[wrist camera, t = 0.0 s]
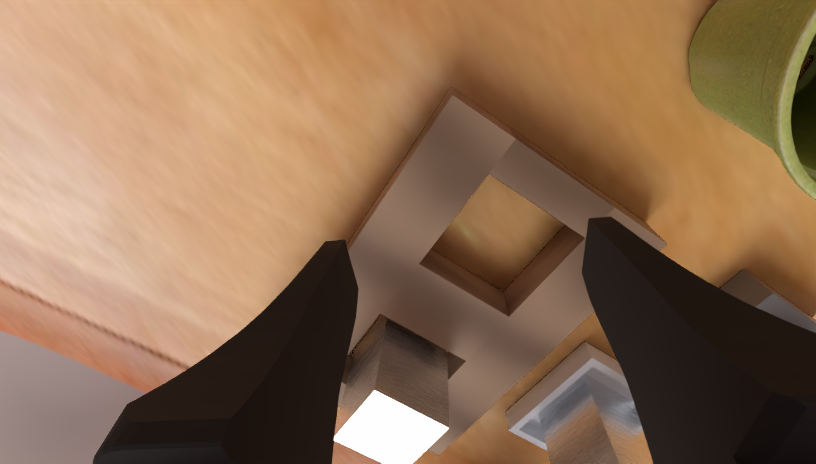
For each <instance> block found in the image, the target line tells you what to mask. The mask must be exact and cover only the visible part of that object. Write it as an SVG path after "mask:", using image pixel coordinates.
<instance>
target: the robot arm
mask: <svg viewBox="0 0 816 464" xmlns="http://www.w3.org/2000/svg"><path fill="white" fill-rule="evenodd" d="M582 275H583V279H584V282H585V286H586V289H587V292H588V295H589V298H590V302H591V304H592V306H593V308H594V311H595V313H596V315H597V317H598V319H599V322H600V324H601V326H602V328H603V330H604V332H605V334H606V337H607V339H608V341H609V343H610V345H611V347H612V349H613V352H614V354H615V356H616V358H617V360H618V362H619V364H620V367H621V369H622V371H623V374H624V376H625V379H626V381H627V384H628V387H629V390H630V393H631V395H632V398H633V401H634V404H635V407H636V410H637V413H638V416H639V419H640V422H641V426H642V429H643V432H644V435H645V438H646V441H647V445H648V448H649V451H650V454H651V458H652V461H653V464H816V333H815V332H812V331H810V330H807V329H805V328H802V327H800V326H797V325H795V324H792V323H790V322H788V321H785V320H783V319H781V318H779V317H776V316H774V315H772V314H770V313H767V312H765V311H763V310H761V309H758V308H756V307H754V306H752V305H750V304H748V303H746V302H744V301H742V300H740V299H738V298H736V297H734V296H732V295H730V294H729V293H727V292H725V291H723V290H721V289H719V288H717V287H715V286H714V285H712V284H710V283H708V282H706V281H705V280H703V279H701V278H700V277H698V276H696V275H695V274H693V273H692V272H690V271H688V270H687V269H685V268H684V267H682V266H680V265H679V264H677V263H676V262H674V261H673V260H671V259H670V258H668V257H667V256H665V255H664V254H662V253H661V252H660V251H658V250H657V249H655V248H654V247H652V246H651V245H650V244H648V243H647V242H645V241H644V240H643V239H641V238H640V237H639V236H637V235H636V234H635V233H633V232H632V231H630V230H629V229H628V228H626V227H625V226H624V225H622V224H621V223H620V222H618V221H617V220H615V219H614V218H612V217H611V216H610V217H599V218H589V219H588V227H587V234H586V242H585V250H584V257H583V265H582ZM358 290H359V288H358V285H357V281H356V278H355V274H354V270H353V267H352V263H351V260H350V256H349V253H348V249H347V246H346V242H345V240H337V241H326V242H325V243H324V244H323V245H322V246H321V247H320V249H319V250H318V251H317V252H316V253H315V255H314V256H313V257H312V258H311V259H310V261H309V262H308V263H307V264H306V265H305V267H304V268H303V269H302V270H301V271H300V272H299V274H298V275H297V276H296V277H295V278H294V279H293V280H292V282H291V283H290V284H289V285H288V286H287V287H286V288H285V289H284V290H283V291H282V292H281V293H280V294H279V295H278V296H277V298H276V299H275V300H274V301H273V302H272V303H271V304H270V305H269V306H268V307H267V308H266V309H265V310H264V311H263V312H262V313H260V314H259V315H258V316H257V317H256V318H255V319H254V320H253V321H252V322H250V323H249V324H248V325H247V326H246V327H245V328H244V329H242V330H241V331H240V332H239V333H238V334H236V335H235V336H234V337H232V338H231V339H230V340H228V341H227V342H226V343H224V344H223V345H222V346H220V347H219V348H218V349H216V350H215V351H214V352H213V353H211V354H210V355H208V356H207V357H205V358H204V359H203V360H201V361H200V362H198V363H197V364H195V365H194V366H192V367H191V368H189V369H187V370H186V371H184V372H183V373H181V374H180V375H178V376H176V377H175V378H173V379H171V380H170V381H168V382H166V383H165V384H163V385H161V386H159V387H158V388H156V389H154V390H152V391H150V392H149V393H147V394H145V395H143V396H142V397H140V398H138V399H136V400H134V401H132V402H130V403H129V404H127V405H126V407H125V408H124V410H123V412H122V413H121V415H120V416H119V418H118V420H117V421H116V423H115V424H114V426H113V427H112V429H111V431H110V432H109V434H108V435H107V437H106V439H105V440H104V442H103V443H102V445H101V447H100V448H99V450H98V451H97V453H96V455H95V456H94V460H93V464H332V455H333V445H334V435H335V425H336V417H337V408H338V400H339V393H340V387H341V382H342V377H343V373H344V369H345V364H346V360H347V356H348V351H349V347H350V343H351V338H352V334H353V329H354V325H355V320H356V313H357V303H358Z"/></svg>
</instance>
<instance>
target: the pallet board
mask: <svg viewBox="0 0 816 464" xmlns="http://www.w3.org/2000/svg"><path fill="white" fill-rule="evenodd" d="M488 174H490V175H491V176H493V177H494V178H496V179H497V180H499V181H500V182H502V183H503V184H505V185H506V186H508V187H509V188H511V189H512V190H514V191H515V192H517V193H518V194H520V195H521V196H523V197H524V198H526V199H527V200H529V201H530V202H532V203H533V204H535V205H536V206H538V207H539V208H541V209H542V210H544V211H545V212H547V213H548V214H550V215H551V216H553V217H554V218H556V219H557V220H559V221H560V222H562V223H563V224H565V226H564V227H563V228H562V229H561V230H560V231H559V232H558V233H557V235H556V236H555V237H554V238H553V239H552V240H551V241H550V242H549V243H548V244H547V245H546V246H545V247H544V249H543V250H542V251H541V252H540V253H539V254H538V255H537V256H536V257H535V258H534V259H533V260H532V262H531V263H530V264H529V265H528V266H527V267H526V268H525V269H524V270H523V271H522V272H521V273H520V275H519V276H518V277H517V278H516V279H515V280H514V281H513V282H512V283H511V284H510V285H509V286H508V288H507V289H506V290H505V291H504V292H502V291H500V290H499V289H497V288H495V287H494V286H492V285H490V284H489V283H487V282H485V281H484V280H482V279H480V278H479V277H477V276H475V275H474V274H472V273H470V272H469V271H467V270H465V269H464V268H462V267H460V266H459V265H457V264H455V263H454V262H452V261H450V260H449V259H447V258H445V257H444V256H442V255H440V254H439V253H437V252H435V251H434V250H432V249H431V248H432V246H433V245H434V244H435V243H436V241H437V240H438V239H439V237H440V236H441V235H442V233H443V232H444V231H445V230H446V228H447V227H448V226H449V224H450V223H451V222H452V221H453V219H454V218H455V217H456V215H457V214H458V213H459V212H460V210H461V209H462V208H463V206H464V205H465V204H466V203H467V201H468V200H469V199H470V197H471V196H472V195H473V194H474V192H475V191H476V190H477V188H478V187H479V186H480V184H481V183H482V182H483V181H484V179H485V178H486V177H487V175H488ZM610 216H611V217H612V218H614V219H615V220H617V221H618V222H620V223H621V224H622V225H624V226H625V227H626V228H628V229H629V230H630V231H632V232H633V233H635V234H636V235H637V236H639V237H640V238H641V239H643V240H644V241H645V242H647V243H648V244H650V245H651V246H652V247H654V248H655V249H657V250H658V251H660V250H661V249H662V248H663V247H665V246H666V245H667V243H666V242H665V241H664V240H663V239H662V238H661V237H660V236H659V235H658V234H657V233H656V232H655V231H654V230H653V229H652V228H651V227H650V226H648V225H647V224H646V223H645V222H644V221H642V220H641V219H639V218H638V217H636V216H635V215H634V214H632V213H631V212H629V211H628V210H626V209H625V208H624V207H622V206H621V205H619V204H618V203H616V202H615V201H614V200H612V199H611V198H609V197H608V196H606V195H605V194H603V193H602V192H601V191H599V190H598V189H596V188H595V187H593V186H592V185H591V184H589V183H588V182H586V181H585V180H583V179H582V178H581V177H579V176H578V175H576V174H575V173H573V172H572V171H570V170H569V169H568V168H566V167H565V166H563V165H562V164H560V163H559V162H558V161H556V160H555V159H553V158H552V157H550V156H549V155H548V154H546V153H545V152H543V151H542V150H540V149H539V148H537V147H536V146H535V145H533V144H532V143H530V142H529V141H527V140H526V139H525V138H523V137H522V136H520V135H519V134H517V133H516V132H515V131H513V130H512V129H510V128H509V127H507V126H506V125H504V124H503V123H502V122H500V121H499V120H497V119H496V118H494V117H493V116H492V115H490V114H489V113H487V112H486V111H484V110H483V109H482V108H480V107H479V106H477V105H476V104H474V103H473V102H471V101H470V100H469V99H467V98H466V97H464V96H463V95H461V94H460V93H459V92H457V91H456V90H454V89H453V88H450V90H449V91H448V93H447V94H446V96H445V97H444V99H443V100H442V102H441V103H440V105H439V106H438V108H437V109H436V111H435V112H434V114H433V115H432V117H431V118H430V120H429V121H428V123H427V124H426V126H425V127H424V129H423V130H422V132H421V133H420V135H419V136H418V138H417V139H416V141H415V142H414V144H413V146H412V147H411V149H410V150H409V152H408V153H407V155H406V156H405V158H404V159H403V161H402V162H401V164H400V165H399V167H398V168H397V170H396V171H395V173H394V174H393V176H392V177H391V179H390V180H389V182H388V183H387V185H386V186H385V188H384V189H383V191H382V192H381V194H380V195H379V197H378V198H377V200H376V201H375V203H374V205H373V206H372V208H371V209H370V211H369V212H368V214H367V215H366V217H365V218H364V220H363V221H362V223H361V224H360V226H359V227H358V229H357V230H356V232H355V233H354V235H353V236H352V238H351V239H350V241H349V242H348V244H347V245H346V246H347V249H348V253H349V256H350V260H351V263H352V267H353V270H354V274H355V278H356V281H357V285H358V288H359V290H358V303H357V313H356V320H355V325H354V329H353V334H352V338H351V343H350V347H349V351H348V356H347V360H346V364H345V369H344V373H343V377H342V382H341V387H340V393H339V400H338V406H339V407H341V403H342V399H343V395H344V391H345V387H346V383H347V379H348V375H349V371H350V367H351V363H352V359H353V357H351V356H349V353H350V352H351V351H352V350H353V348H354V347H355V346H356V344H357V343H358V342H359V341H360V339H361V338H362V337H363V335H364V334H365V333H366V332H367V330H368V329H369V328H370V326H371V325H372V324H373V323H374V321H375V320H376V319H377V317H378V316H379V315H380V314H382V315H384V316H385V317H387V318H389V319H391V320H393V321H394V322H396V323H398V324H400V325H402V326H403V327H405V328H407V329H409V330H411V331H413V332H414V333H416V334H418V335H420V336H422V337H423V338H425V339H427V340H429V341H431V342H433V343H434V344H436V345H438V346H440V347H442V348H443V349H445V350H447V351H448V352H447V362H448V398H449V429H448V430H447V431H446V432H445V433H444V434H443V435H442V436H441V437H440V438H439V439H437V440H436V441H435V442H434V443H433V444H432V445H431V446H430V447H429V448H428V449H427V450H428V451H430V452H432V453H434V454H436V455H438V456H439V455H440V454H441V453H442V452H443V451H444V450H445V449H446V448H447V447H448V446H450V445H451V444H452V443H453V442H454V441H455V440H456V439H457V438H458V437H459V436H460V435H461V434H463V433H464V432H465V431H466V430H467V429H468V428H469V427H470V426H471V425H472V424H473V423H474V422H475V421H477V420H478V419H479V418H480V417H481V416H482V415H483V414H484V413H485V412H486V411H487V410H488V409H490V408H491V407H492V406H493V405H494V404H495V403H496V402H497V401H498V400H499V399H500V398H501V397H502V396H504V395H505V394H506V393H507V392H508V391H509V390H510V389H511V388H512V387H513V386H514V385H515V384H517V383H518V382H519V381H520V380H521V379H522V378H523V377H524V376H525V375H526V374H527V373H528V372H530V371H531V370H532V369H533V368H534V367H535V366H536V365H537V364H538V363H539V362H540V361H541V360H542V359H544V358H545V357H546V356H547V355H548V354H549V353H550V352H551V351H552V350H553V349H554V348H555V347H557V346H558V345H559V344H560V343H561V342H562V341H563V340H564V339H565V338H566V337H567V336H568V335H569V334H571V333H572V332H573V331H574V330H575V329H576V328H577V327H578V326H579V325H580V324H581V323H582V322H584V321H585V320H586V319H587V318H588V317H589V316H590V315H591V314H592V313H593V312H594V308H593V306H592V304H591V302H590V298H589V295H588V292H587V289H586V286H585V282H584V279H583V275H582V265H583V257H584V250H585V242H586V234H587V227H588V219H589V218H599V217H610Z"/></svg>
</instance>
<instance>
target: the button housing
mask: <svg viewBox="0 0 816 464" xmlns="http://www.w3.org/2000/svg"><path fill="white" fill-rule="evenodd" d="M720 289H721V290H723V291H725V292H727V293H729V294H730V295H732V296H734V297H736V298H738V299H740V300H742V301H744V302H746V303H748V304H750V305H752V306H754V307H756V308H758V309H761V310H763V311H765V312H767V313H771V314H773V315H774V316H776V317H779V318H781V319H783V320H785V321H788V322H790V323H792V324H795V325H797V326H800V327H802V328H805V329H807V330H810V331H812V332H815V333H816V320H815V319H814V318H812V317H811V316H810V315H808V314H807V313H805V312H804V311H803V310H801V309H800V308H798V307H797V306H796V305H794V304H793V303H791V302H790V301H788V300H787V299H786V298H784V297H783V296H781V295H780V294H779V293H777V292H776V291H774V290H773V289H772V288H770V287H769V286H767V285H766V284H765V283H763V282H762V281H760V280H759V279H758V278H756V277H755V276H753V275H752V274H751V273H749V272H748V271H746V270H745V269H743V270H742V271H740V272H739V273H738V274H737V275H736V276H734V277H733V278H732V279H731V280H729V281H728V282H727V283H726V284H725V285H723V286H722V287H721V288H720Z"/></svg>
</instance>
